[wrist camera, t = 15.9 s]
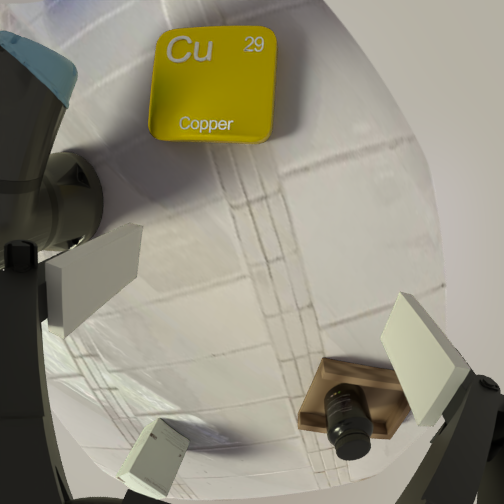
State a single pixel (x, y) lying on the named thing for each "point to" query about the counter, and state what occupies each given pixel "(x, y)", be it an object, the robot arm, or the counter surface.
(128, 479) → the skincare box
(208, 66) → the element tile
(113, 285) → the robot arm
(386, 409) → the u rest
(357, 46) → the counter surface
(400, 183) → the counter surface
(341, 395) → the supplement bottle
